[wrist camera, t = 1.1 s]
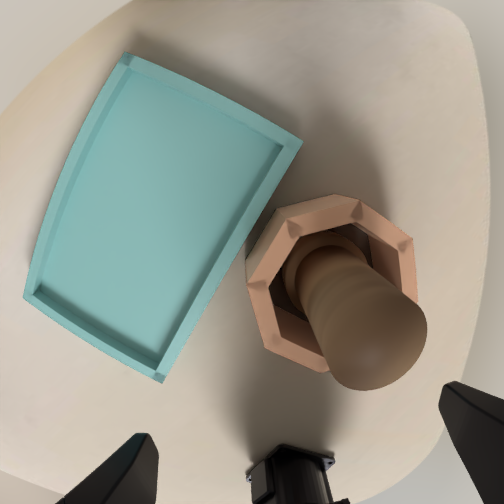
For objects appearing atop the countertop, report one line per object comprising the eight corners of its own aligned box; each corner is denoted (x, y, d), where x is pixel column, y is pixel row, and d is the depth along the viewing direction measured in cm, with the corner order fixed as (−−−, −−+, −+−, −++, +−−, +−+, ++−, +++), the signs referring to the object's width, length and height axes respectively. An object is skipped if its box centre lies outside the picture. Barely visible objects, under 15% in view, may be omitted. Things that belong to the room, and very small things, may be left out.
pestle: (372, 255, 21) (457, 316, 11) (330, 318, 22) (383, 412, 12) (309, 215, 20) (369, 255, 10) (266, 284, 21) (286, 375, 11)
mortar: (407, 244, 20) (442, 261, 16) (336, 351, 22) (354, 387, 18) (298, 170, 19) (315, 169, 15) (224, 295, 21) (219, 326, 16)
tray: (297, 144, 19) (303, 141, 17) (167, 368, 22) (162, 383, 20) (134, 61, 17) (124, 51, 15) (36, 288, 20) (22, 297, 18)
